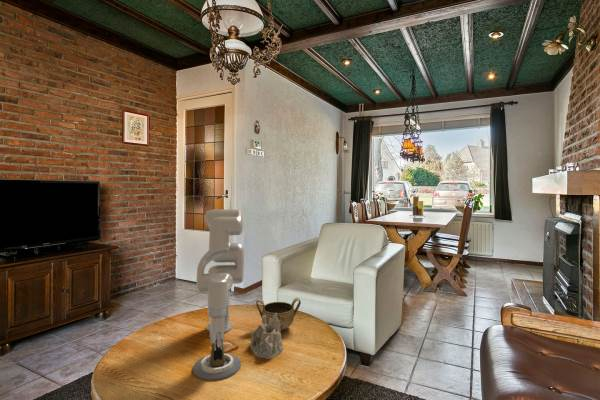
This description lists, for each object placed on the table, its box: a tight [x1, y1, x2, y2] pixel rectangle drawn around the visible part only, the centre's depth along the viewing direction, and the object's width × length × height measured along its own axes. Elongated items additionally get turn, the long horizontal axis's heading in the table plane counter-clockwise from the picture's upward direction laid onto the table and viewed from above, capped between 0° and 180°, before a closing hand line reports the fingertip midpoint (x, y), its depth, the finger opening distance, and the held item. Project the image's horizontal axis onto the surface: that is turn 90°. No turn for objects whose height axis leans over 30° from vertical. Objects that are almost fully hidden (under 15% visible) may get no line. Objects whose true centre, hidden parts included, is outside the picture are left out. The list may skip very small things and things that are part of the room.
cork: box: [209, 340, 225, 366], centre depth 128 cm, size 6×6×11 cm
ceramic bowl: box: [255, 297, 302, 331], centre depth 165 cm, size 22×17×15 cm
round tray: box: [192, 352, 242, 381], centre depth 128 cm, size 18×18×2 cm
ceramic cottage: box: [249, 313, 284, 360], centre depth 143 cm, size 16×16×15 cm
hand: (217, 356), depth 128 cm, fingers closed on cork, 4 cm apart
